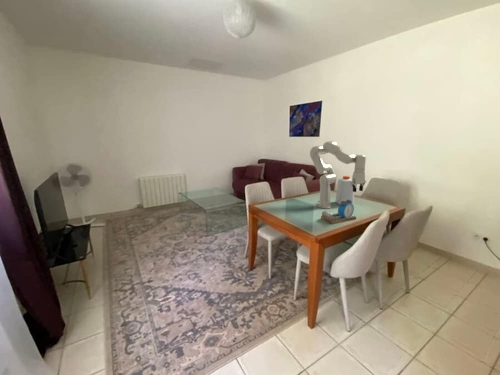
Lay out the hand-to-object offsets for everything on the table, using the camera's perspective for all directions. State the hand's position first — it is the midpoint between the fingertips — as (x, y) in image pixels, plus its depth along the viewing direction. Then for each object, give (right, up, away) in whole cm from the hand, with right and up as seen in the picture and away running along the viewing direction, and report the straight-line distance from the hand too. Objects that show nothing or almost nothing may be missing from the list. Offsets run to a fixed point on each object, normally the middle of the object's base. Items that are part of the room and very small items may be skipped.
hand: (357, 191), depth 187 cm
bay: (-16, -23, -1) cm, 28 cm away
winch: (-27, -25, -7) cm, 37 cm away
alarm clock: (-10, -22, +1) cm, 25 cm away
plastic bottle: (+5, -13, +38) cm, 41 cm away
